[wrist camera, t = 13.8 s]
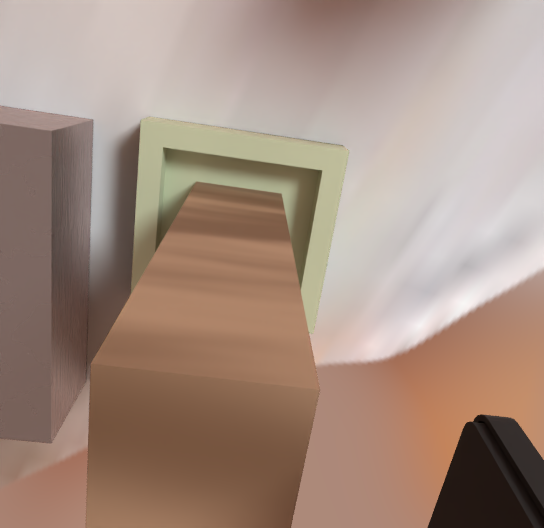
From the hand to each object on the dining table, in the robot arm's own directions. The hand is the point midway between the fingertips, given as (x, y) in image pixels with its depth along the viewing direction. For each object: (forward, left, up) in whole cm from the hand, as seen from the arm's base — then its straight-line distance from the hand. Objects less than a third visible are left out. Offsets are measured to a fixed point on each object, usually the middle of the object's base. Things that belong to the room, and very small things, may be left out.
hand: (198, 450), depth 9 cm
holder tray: (+1, 0, -17) cm, 17 cm away
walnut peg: (+1, 0, -16) cm, 16 cm away
